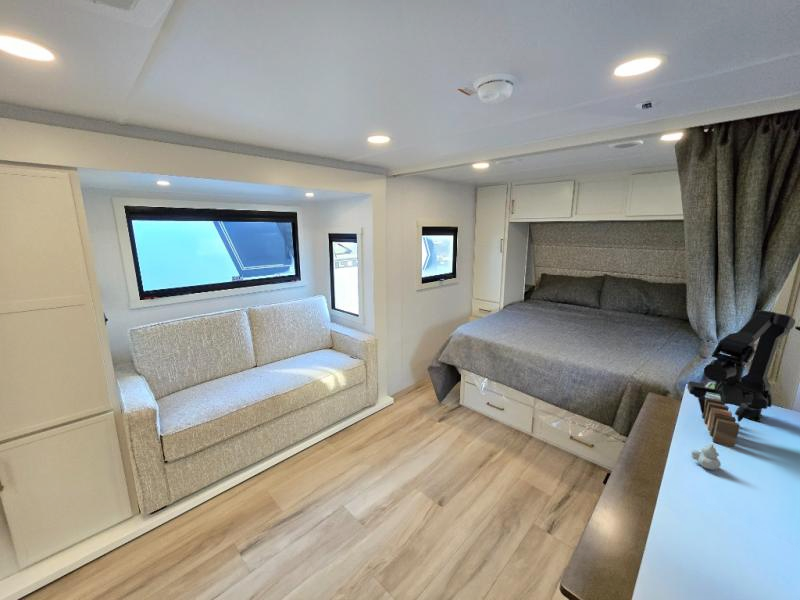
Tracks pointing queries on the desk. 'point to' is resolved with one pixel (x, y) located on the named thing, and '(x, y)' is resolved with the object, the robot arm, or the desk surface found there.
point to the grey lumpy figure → (707, 457)
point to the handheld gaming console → (711, 385)
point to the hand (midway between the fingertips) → (720, 416)
